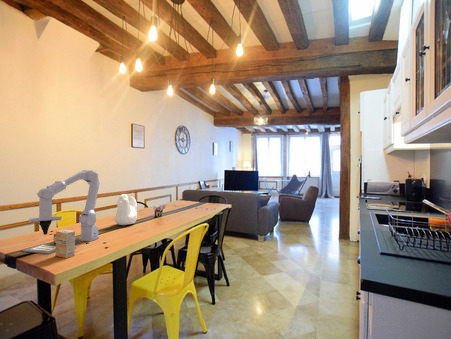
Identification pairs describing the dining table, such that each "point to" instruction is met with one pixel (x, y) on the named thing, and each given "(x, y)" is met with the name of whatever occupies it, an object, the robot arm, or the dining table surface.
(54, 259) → the dining table surface
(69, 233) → the supplement box
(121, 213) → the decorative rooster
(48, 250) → the label plate
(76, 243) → the tan wooden bar
